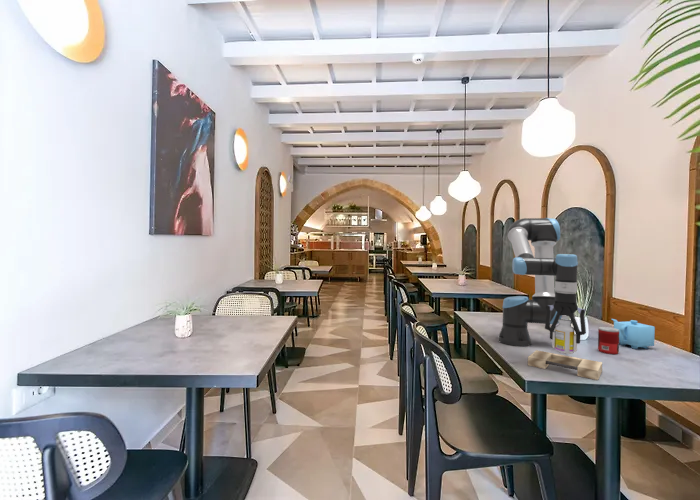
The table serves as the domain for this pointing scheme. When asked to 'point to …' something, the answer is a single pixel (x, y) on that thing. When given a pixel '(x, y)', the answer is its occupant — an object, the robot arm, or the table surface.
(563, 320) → the supplement bottle
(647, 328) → the teapot
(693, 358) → the table surface
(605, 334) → the canned food
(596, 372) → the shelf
